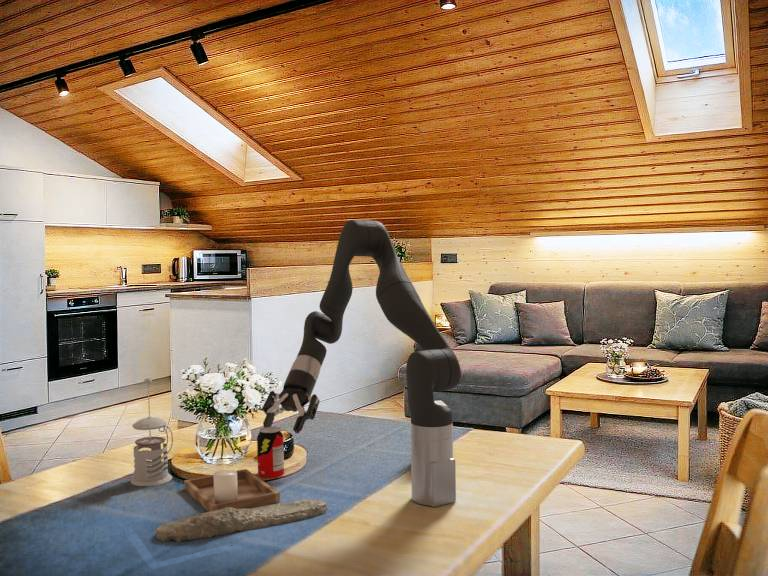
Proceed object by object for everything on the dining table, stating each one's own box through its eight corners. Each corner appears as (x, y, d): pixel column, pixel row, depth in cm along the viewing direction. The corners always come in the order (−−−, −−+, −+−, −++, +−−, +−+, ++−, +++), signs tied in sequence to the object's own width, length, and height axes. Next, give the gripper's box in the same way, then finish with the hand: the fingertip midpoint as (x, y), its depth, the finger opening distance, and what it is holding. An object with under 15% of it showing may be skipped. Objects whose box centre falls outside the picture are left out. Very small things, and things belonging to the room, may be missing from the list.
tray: (279, 506, 160) (279, 492, 160) (212, 520, 152) (212, 506, 152) (246, 481, 177) (246, 469, 177) (184, 493, 169) (184, 480, 169)
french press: (121, 482, 177) (117, 380, 176) (157, 469, 188) (153, 372, 186) (151, 488, 173) (147, 383, 171) (186, 474, 183) (182, 374, 182)
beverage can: (275, 472, 184) (274, 424, 183) (289, 478, 179) (288, 429, 178) (253, 477, 180) (252, 429, 179) (266, 483, 175) (265, 434, 174)
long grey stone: (335, 528, 151) (318, 514, 160) (336, 502, 151) (319, 490, 160) (160, 552, 136) (152, 535, 145) (160, 523, 136) (152, 509, 145)
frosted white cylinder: (241, 506, 157) (240, 474, 157) (218, 510, 155) (217, 478, 154) (233, 499, 162) (232, 468, 161) (211, 503, 159) (210, 472, 159)
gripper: (274, 366, 193) (250, 419, 183) (321, 369, 187) (300, 424, 178) (285, 383, 198) (262, 435, 189) (331, 386, 193) (311, 440, 183)
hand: (280, 430), depth 183 cm, fingers open, 8 cm apart
